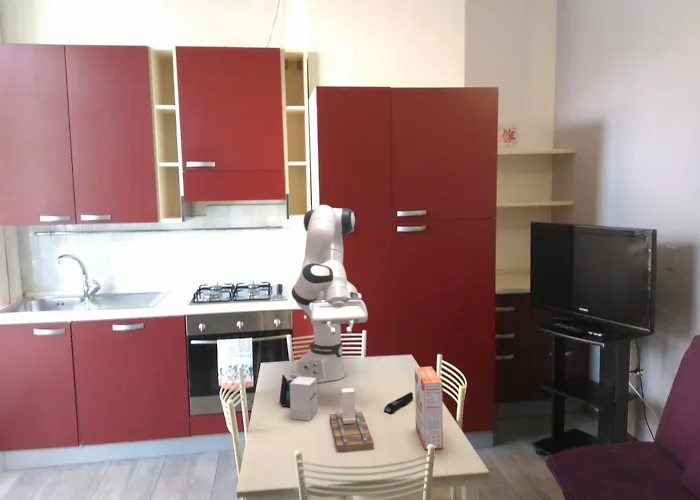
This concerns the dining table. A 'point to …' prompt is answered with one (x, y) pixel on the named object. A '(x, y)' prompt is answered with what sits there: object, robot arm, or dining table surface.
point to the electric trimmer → (398, 403)
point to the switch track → (351, 433)
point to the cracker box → (429, 407)
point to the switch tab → (348, 405)
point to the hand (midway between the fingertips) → (341, 333)
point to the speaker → (285, 392)
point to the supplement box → (303, 398)
